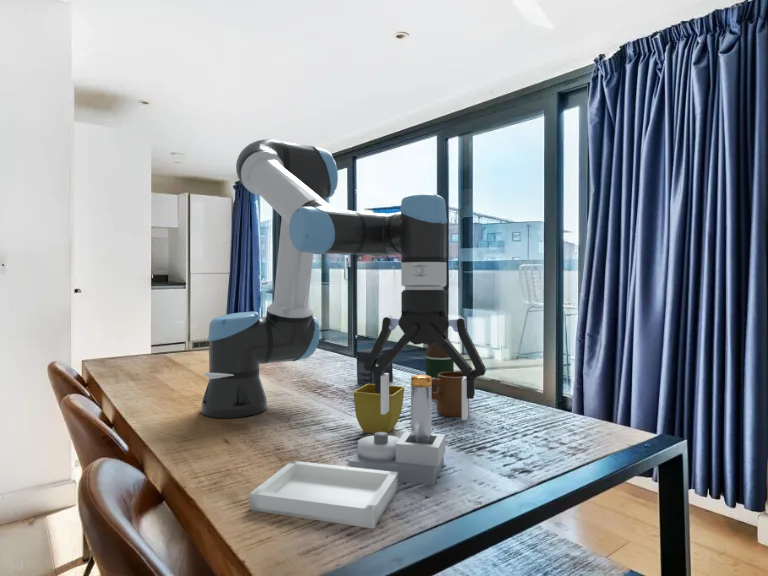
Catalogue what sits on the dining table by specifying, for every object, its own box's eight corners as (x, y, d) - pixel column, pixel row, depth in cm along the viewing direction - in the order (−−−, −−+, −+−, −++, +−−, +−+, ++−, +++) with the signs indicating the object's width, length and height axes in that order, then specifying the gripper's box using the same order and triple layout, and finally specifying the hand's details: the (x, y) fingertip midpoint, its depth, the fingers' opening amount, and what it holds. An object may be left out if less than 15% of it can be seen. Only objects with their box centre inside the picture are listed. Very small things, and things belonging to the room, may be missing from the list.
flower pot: (405, 427, 109) (405, 386, 109) (392, 439, 101) (392, 395, 100) (367, 423, 112) (367, 383, 112) (352, 435, 103) (352, 391, 103)
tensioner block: (348, 475, 82) (348, 441, 82) (367, 455, 92) (367, 424, 92) (436, 485, 78) (436, 449, 78) (446, 463, 88) (446, 430, 88)
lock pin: (408, 459, 83) (409, 378, 82) (413, 452, 86) (413, 374, 86) (429, 461, 82) (429, 379, 81) (433, 454, 85) (433, 375, 85)
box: (376, 379, 161) (376, 346, 160) (393, 381, 157) (393, 348, 157) (355, 385, 152) (355, 350, 152) (373, 387, 148) (373, 352, 148)
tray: (249, 511, 70) (249, 493, 70) (291, 475, 82) (291, 460, 82) (373, 529, 65) (373, 509, 65) (398, 488, 77) (398, 472, 77)
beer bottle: (423, 392, 141) (423, 307, 141) (450, 392, 142) (450, 307, 142) (428, 399, 134) (428, 309, 133) (456, 398, 134) (457, 309, 134)
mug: (434, 422, 112) (434, 380, 112) (415, 414, 119) (415, 375, 119) (475, 415, 119) (475, 375, 118) (455, 407, 125) (455, 370, 125)
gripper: (345, 288, 83) (346, 415, 84) (499, 288, 77) (499, 426, 77) (359, 288, 91) (360, 405, 91) (501, 288, 84) (501, 414, 84)
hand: (424, 415), depth 84 cm, fingers open, 13 cm apart
